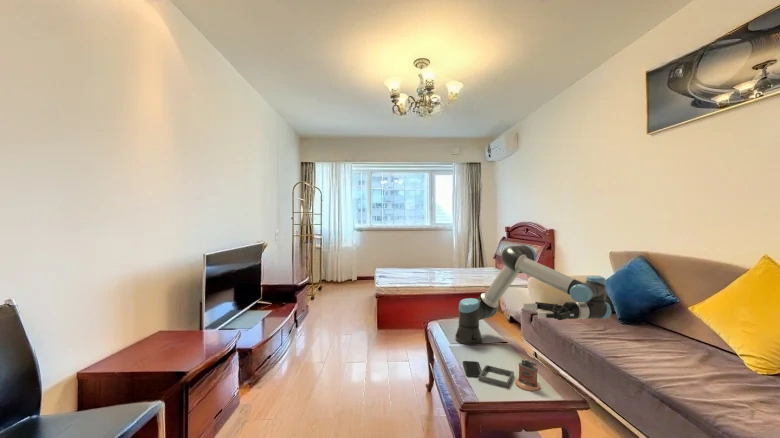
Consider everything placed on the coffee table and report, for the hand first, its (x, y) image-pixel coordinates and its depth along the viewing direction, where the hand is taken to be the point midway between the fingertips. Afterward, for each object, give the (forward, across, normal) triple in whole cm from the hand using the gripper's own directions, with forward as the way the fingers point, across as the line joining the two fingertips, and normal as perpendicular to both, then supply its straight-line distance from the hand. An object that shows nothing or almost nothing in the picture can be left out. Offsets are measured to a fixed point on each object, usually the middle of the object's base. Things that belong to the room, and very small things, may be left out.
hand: (530, 310), depth 152 cm
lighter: (+5, -8, -29) cm, 31 cm away
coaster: (+5, -8, -30) cm, 31 cm away
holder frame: (+16, -1, -30) cm, 34 cm away
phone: (+24, +7, -31) cm, 40 cm away
